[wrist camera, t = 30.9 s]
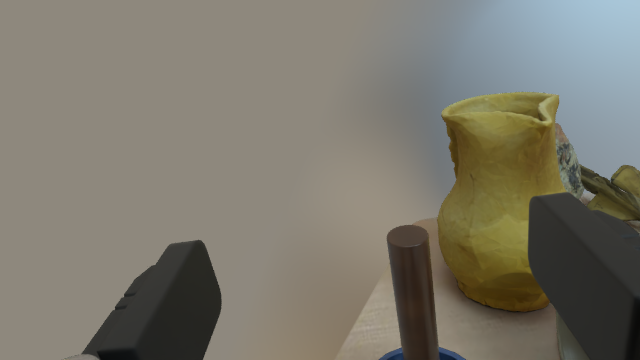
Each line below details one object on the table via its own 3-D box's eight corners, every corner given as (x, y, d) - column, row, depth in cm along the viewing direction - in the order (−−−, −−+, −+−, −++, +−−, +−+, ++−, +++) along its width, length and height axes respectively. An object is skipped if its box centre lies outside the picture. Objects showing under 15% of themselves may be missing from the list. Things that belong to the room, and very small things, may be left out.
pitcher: (435, 319, 52) (427, 125, 43) (442, 243, 68) (437, 90, 60) (595, 334, 46) (622, 114, 38) (561, 247, 63) (574, 79, 54)
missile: (576, 181, 78) (578, 143, 75) (707, 249, 56) (717, 199, 53) (542, 189, 78) (543, 152, 75) (660, 260, 55) (669, 211, 52)
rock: (564, 136, 72) (502, 147, 76) (580, 101, 57) (502, 117, 61) (584, 217, 69) (518, 225, 73) (606, 203, 54) (521, 214, 58)
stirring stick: (424, 456, 37) (398, 251, 29) (408, 427, 40) (379, 232, 32) (453, 442, 38) (436, 238, 29) (435, 415, 41) (415, 220, 32)
